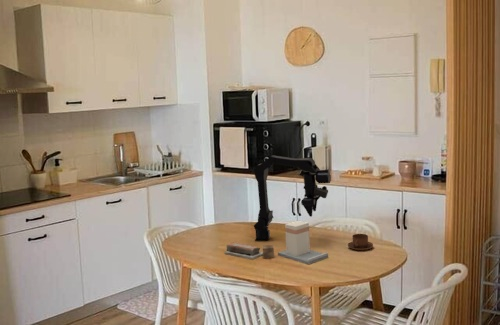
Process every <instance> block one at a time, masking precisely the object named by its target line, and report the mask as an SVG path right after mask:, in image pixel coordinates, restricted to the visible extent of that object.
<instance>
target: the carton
mask: <svg viewBox="0 0 500 325" xmlns="http://www.w3.org/2000/svg"><path fill="white" fill-rule="evenodd" d="M284 227H285V228H284V229H285V230H284V232H285V250H286V253H288V254H292V255H295V256H299V255H302V254H305V253H308V252H310V250H311V248H310V247H311V246H310V225H309V222H306V221H301V220H296V221H292V222H289V223H285V225H284Z"/></svg>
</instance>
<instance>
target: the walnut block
mask: <svg viewBox="0 0 500 325" xmlns="http://www.w3.org/2000/svg"><path fill="white" fill-rule="evenodd" d="M274 249H275V248H274V244H263V245H262V252H263V255H262V259H275V250H274Z"/></svg>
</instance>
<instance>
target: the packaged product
mask: <svg viewBox="0 0 500 325" xmlns="http://www.w3.org/2000/svg"><path fill="white" fill-rule="evenodd" d="M260 250H261V248H260V247H259V246H255V245H249V244H246V243H241V242H237V241H235V242H230V243H229V244H227V245H226V250H224V252H223V253H224V254H225V255H228V256H231V257H232V256H233V257H237V258H240V259H241V258H242V259H247V260H252V261H253V260H256V259H257V258H259V257H261V256H262V257H263V251H260Z"/></svg>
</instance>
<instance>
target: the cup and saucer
mask: <svg viewBox="0 0 500 325" xmlns="http://www.w3.org/2000/svg"><path fill="white" fill-rule="evenodd" d="M347 246H348V248H350V249H352V250H355V251H368V250H371V249H372V248H373V246H374V243H373V242H371V241H369V236H368V234H366V233H365V234H364V233H356V234H353V235H352V241H351V242H348V243H347Z"/></svg>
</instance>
